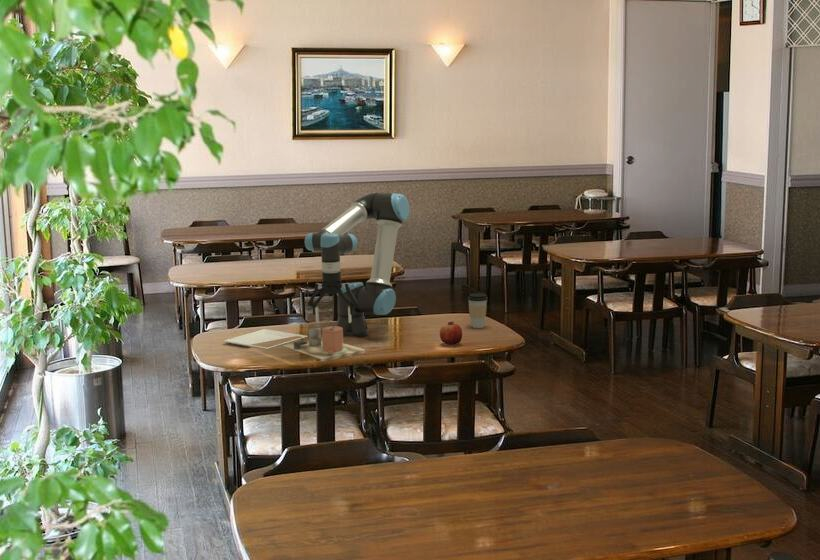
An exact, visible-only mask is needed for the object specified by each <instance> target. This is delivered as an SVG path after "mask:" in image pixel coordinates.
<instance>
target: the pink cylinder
mask: <svg viewBox="0 0 820 560" xmlns="http://www.w3.org/2000/svg"><path fill="white" fill-rule="evenodd" d="M321 330H322V332H321V338H322V339H323V351H325V352H328V354H333V353H334V352H339V351H342V350H343V343H344V335H343V328H342V327H338V326H336V325H332V326H325V327H322V328H321Z"/></svg>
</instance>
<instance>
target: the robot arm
mask: <svg viewBox="0 0 820 560" xmlns="http://www.w3.org/2000/svg"><path fill="white" fill-rule="evenodd" d="M410 210H411V209H410V203H409V201H408V198H407V196H405V195H404V194H401V193H395V192H393V193H387V192H386V193H385V192H384V193H383V192H380V193H379V192H371V193H369V194H366V195H364V196H361V197H359V198H358V199H355V201H353V202H352V203H351V204H350V205H349V206H348V208H347V209H346V210H345V211H344V212H342V213H341V214H340V215H339V216H337V217H336V218H335V219H333V220H332V221H331V222H329V223H328V224H327V225H326V226H325V227H323V228H322V229H320V230H319V231H318V232H316V233H315V232H311V233H310V232H309V233H308V234H306V235H305V238H304V247H305V248H306V250H308V251H312V252H320V253H321V254H320V255H321V271H322V273H321V275H322V279H321V280H322V283H319V282H316V283H315V284H314V290H313V293H312V294H311V296H310V298H309V301H308V302H307V306H309V307H312V314H313V315H315V323H316V324H318V323H319V322H320V315H319V312H320V311H319V305H318V304H319V302H320V301H321V300H322V299H323V298H324V296H325V295H326V294H327V295H336V296H337V297H336V299H337V320H336V324H335V326H338V327H342V328H343V337H345V336H348V337H349V336H350V337H351V336H352V337H355V338H363V337H366V336H368V335H369V327H368V325H367V322H366V318H365V314H369V315H370V314H371V315H376V316H381V315H382V316H384V315H385V316H386V315H388V314H390V313H391V312H392V310H393V309H394V307H395V305H396V299H397V296H396V291H394V289H393V285H392V283H391V282H390V281H391V276H392V269H393V262H394V256H395V250H396V243H397V238H398V230H399V228H401V227H402V226H403V222H405V221H407V220H408V218H409V216H410ZM367 220H376V221H375V222H376V223H377V225H378V228H377V236H376V241H375V249H374V253H373V260H372V267H371V272H370V278H369V279H368V280H367V281H366V282H365V285H364V283H363V282H361V281H358V282H355V281H354V282H346V283H344V282H343V283H342V275H341V273H342V272H341V271H342V270H341V255H344V254H348V253H351V252H354V251H355V250H356V249H357V247H358V239H357V237H356V236H355V235H354V234H353V233H348V232H349V231H350V230H352V229H353V228H354V227H355V226H356V225H358V224H359V223H363V222H365V221H367ZM321 288H322V289H323V292H322V293H321V294H320V295H319V296H318V297H317V299H316V295H317V294H318V291H319V289H321ZM315 299H316V301H315V302H314V300H315Z"/></svg>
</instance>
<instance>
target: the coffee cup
mask: <svg viewBox="0 0 820 560" xmlns="http://www.w3.org/2000/svg"><path fill="white" fill-rule="evenodd" d="M488 300H489V297H488V296H487V293H481V292H478V293H477V292H475V293H469V294H468V297H467V301H468V311H469V318H470V327H471V328H472V327H473V329H483V328H485V323H486V317H487V316H486V315H487V308H488V305H487V303H488Z"/></svg>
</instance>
